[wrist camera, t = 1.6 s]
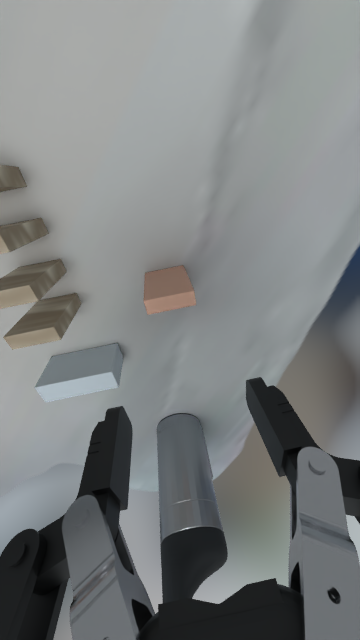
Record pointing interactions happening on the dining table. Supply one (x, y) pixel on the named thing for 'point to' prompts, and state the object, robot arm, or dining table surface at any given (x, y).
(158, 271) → the domino
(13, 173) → the domino
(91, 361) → the end block
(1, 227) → the domino
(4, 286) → the domino
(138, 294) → the dining table surface
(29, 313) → the domino
